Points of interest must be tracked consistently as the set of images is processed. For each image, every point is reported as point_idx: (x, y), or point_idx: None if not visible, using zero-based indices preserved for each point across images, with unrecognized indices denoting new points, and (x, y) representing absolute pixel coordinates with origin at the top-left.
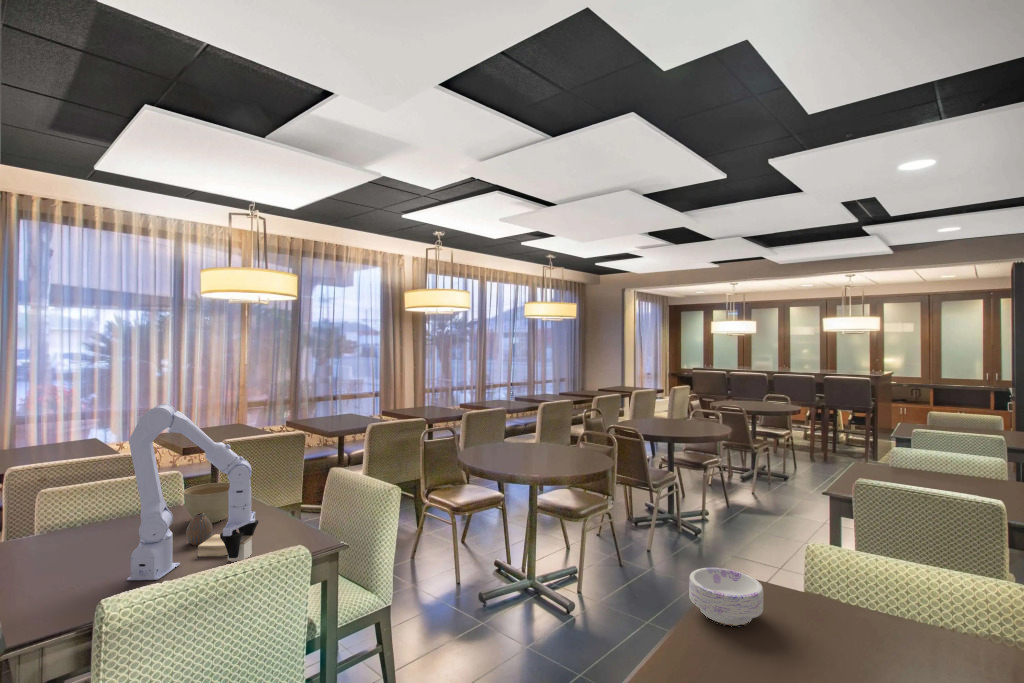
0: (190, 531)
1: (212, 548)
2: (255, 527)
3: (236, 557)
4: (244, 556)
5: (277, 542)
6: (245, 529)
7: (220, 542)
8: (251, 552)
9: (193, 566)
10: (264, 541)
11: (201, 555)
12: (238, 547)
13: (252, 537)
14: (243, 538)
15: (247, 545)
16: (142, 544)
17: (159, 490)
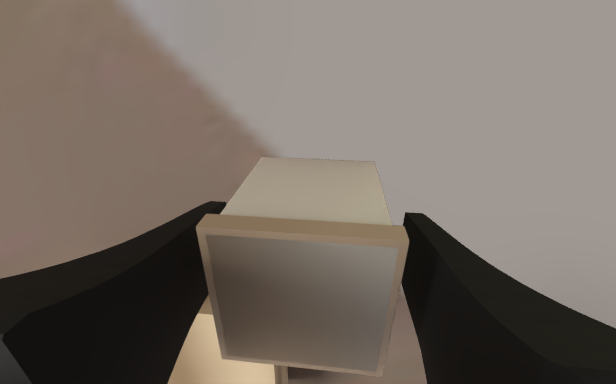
0: None
1: (279, 376)
2: (52, 272)
3: (423, 215)
4: (369, 174)
5: (20, 60)
6: (144, 348)
7: (223, 374)
8: (259, 163)
9: (401, 364)
10: (43, 165)
11: (287, 374)
12: (456, 252)
13: (209, 216)
14: (288, 284)
15: (316, 203)
16: None
17: None
